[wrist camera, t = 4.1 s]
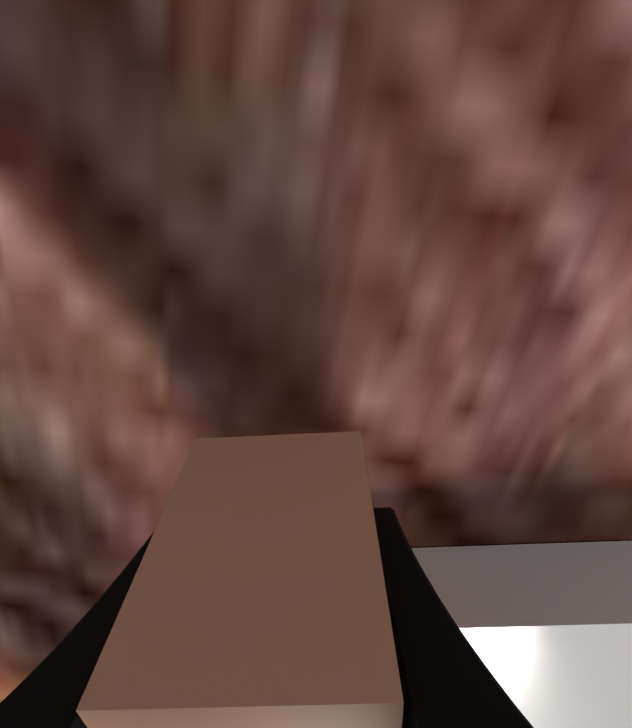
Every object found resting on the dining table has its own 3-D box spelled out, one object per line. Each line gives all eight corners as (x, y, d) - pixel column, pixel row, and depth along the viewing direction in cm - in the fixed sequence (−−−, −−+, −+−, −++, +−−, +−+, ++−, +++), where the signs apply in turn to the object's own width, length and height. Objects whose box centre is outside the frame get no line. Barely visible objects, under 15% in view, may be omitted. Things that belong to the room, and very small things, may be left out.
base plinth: (356, 726, 23) (362, 802, 20) (352, 550, 16) (359, 630, 13) (627, 721, 22) (670, 798, 19) (747, 536, 15) (838, 617, 12)
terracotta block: (222, 550, 13) (155, 826, 8) (194, 438, 11) (75, 710, 5) (361, 544, 13) (393, 822, 7) (361, 431, 11) (403, 702, 5)
